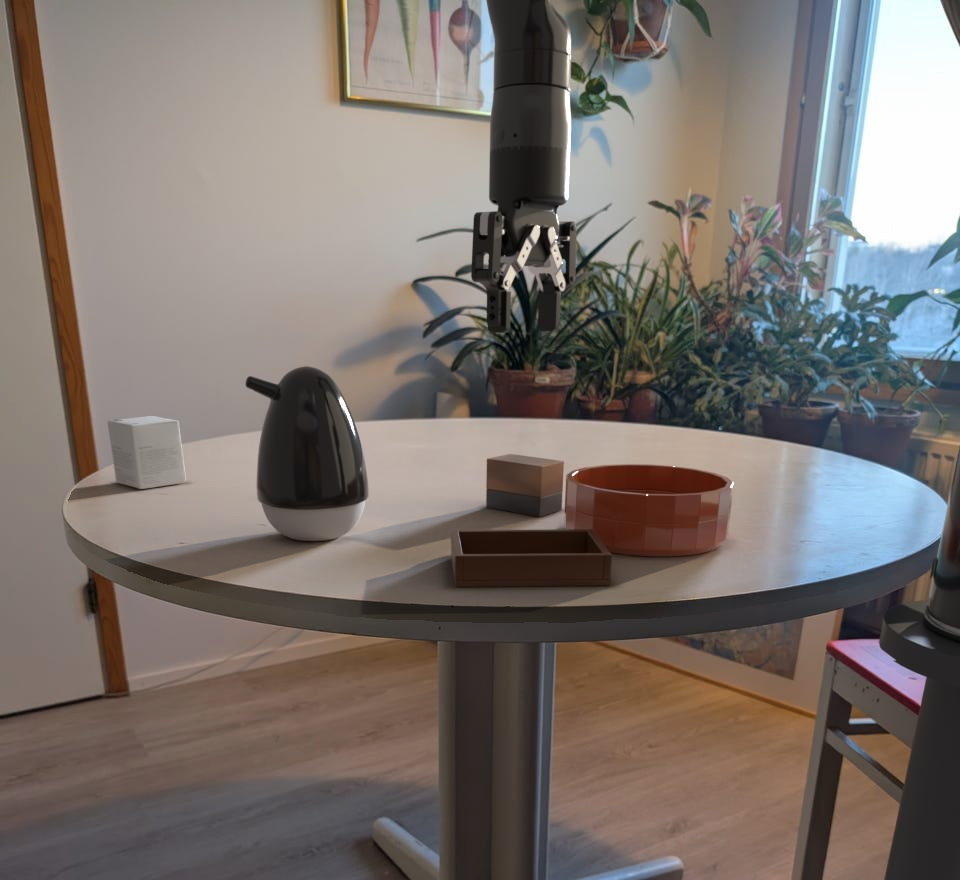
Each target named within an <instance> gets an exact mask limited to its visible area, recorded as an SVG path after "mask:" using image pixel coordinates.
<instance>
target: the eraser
mask: <svg viewBox="0 0 960 880" xmlns="http://www.w3.org/2000/svg"><path fill="white" fill-rule="evenodd" d="M564 468H565V461H564V460H557V459H551V458H543V457H537V456H530V455H529V456H528V455H521V454H514V453H508V454H507V453H506V454H502V455H498V456H493V457H488V458H486V479H485V480H486V482H485V483H486V485H485V486H486V488H485V489H486V490H485V491H486V495H485V496H486V498H485V508H488V509H489V508H490V509H494V510H499V511H506V512H510V513H515V514H516V513H517V514H522V515H527V516H532V517H537V518H538V517H539V518H541V517H543V516H546V515H549V514H553V513H557V512H559V511H562V509H563V490H564V471H565V470H564Z"/></svg>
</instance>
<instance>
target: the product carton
mask: <svg viewBox="0 0 960 880" xmlns="http://www.w3.org/2000/svg"><path fill="white" fill-rule="evenodd" d="M107 427H108V429H107V430H108V435H109V442H110V449H111V455H112V461H113V468H114V476H115V481H116V483H117V484H120V485H124V486H127V487H128V486H129V487H132V488H134V489H138V490H143V489H144V490H145V489H151V488H158V487H165V486H172V485H179V484H183V483H186V482H187V477H186V470H185V461H184V452H183V445H182V438H181V430H180V422H179V420H176V419H170V418H164V417H160V416H155V415H147V416H138V417H129V418H118V419H110V420H107Z"/></svg>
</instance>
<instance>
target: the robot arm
mask: <svg viewBox="0 0 960 880" xmlns="http://www.w3.org/2000/svg"><path fill="white" fill-rule="evenodd" d="M485 1H486V7H487V12H488V16H489V20H490V26H491V30H492V35H493V39H494V47H493V48H494V49H493V86H492V87H493V90H492V91H493V94H492V104H491V112H490V118H489V120H490V122H489V172H488V175H489V176H488V199H489V201H490V203H491V204H492V205H494V206H497V210H496V211H477V212H475V213H474V215H473V224H472V226H473V227H472V245H471V247H472V249H471V267H470V268H471V269H470V270H471V271H470V277H471V281H472V282H474V283H479V284H480V285H482V287H483V289H484V290H485V291H486V325H487V330H488V332H489V333H494V334H495V333H496V334H497V333H499V334H505V333H509V332H510V330H511V313H512V311H511V309H512V308H511V306H512V291H509V290H510V288H511V286H512V285H513V282H514V280H515V278H516V276H517V274H518V273H519V272H521V271H522V270H523V269H524V267H527V268H528V271H529V272H530V273H531V274H533V275H534V276H535V279H536V282H537V285H538V287H539V289H540V291H541V292H538V305H537V306H538V307H537V308H538V310H537V329H538V330H539V331H540V332H557V331H558V330H559V329H560V322H561V305H562V303H561V302H562V292H564V291H565V290H566V288H567V287H568V286H574V285H575V283H576V278H577V277H576V273H577V265H576V264H577V223H576V222H575V221H574V220H573V221H568V220H567V221H566V220H565V221H559V219H558V213H557V212H558V211H557V210H558V208H559V207H560V206H564V205H565V204H566V203H567V201H568V200H569V185H570V163H571V138H572V137H571V135H572V112H571V111H572V110H571V76H572V75H571V74H572V51H573V50H572V49H573V47H572V45H573V43H572V31H571V27H570V24H569V23H568V22H567V20H566V19H565V18H564V17H563V16H562V15H561V14H560V12H558V11H557V9H556V8H555V7H554V6H553V3H552V1H551V0H485ZM939 1H940V4H941V7H942V9H943V12H944V14H945V17H946V19H947V22H948V24H949V27H950V30H951V31H952V33H953V36H954V37H955V40H956V43H957V44H958V46H959V47H960V0H939ZM486 255H488V259H487V261H488V263H487V264H488V265H487V267H484V265H485V264H484V263H485V262H484V261H485V256H486ZM564 261H565V272H563V270H562V266H563V265H564ZM501 273H502V274H501ZM548 274H549V276H548ZM958 446H959V447H958V451H957V457H956V461H955V467H954V471H953V476H952V480H951V485H950V492H949V496H948V500H947V507H946V511H945V515H944V521H943V525H942V531H941V536H940V541H939V545H938V549H937V550H938V551H937V554H936V556H935V557H934V558H933V561H932V567H931V571H930V576H929V579H932V580H931V585H930V589H929V592H928V597H927V600H928V601H927V602H928V604H927V606H926V607H925V612H924V617H923V623H924V625H925V626H926V627H927V628H928V629H929V630H931V631H932V632H934V633H936V634H938V635H940V636H942V637H944V638H946V639H949V640H952V641H955V642H958V643H960V445H958Z"/></svg>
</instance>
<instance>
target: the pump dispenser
mask: <svg viewBox="0 0 960 880" xmlns="http://www.w3.org/2000/svg"><path fill="white" fill-rule="evenodd" d="M244 383H245V385H244V386H245V387H246V388H247V389H248V390H252V391H253V392H255V393H257V394H259V395H261V396H263V397H265V398H268V399H269V400H270V402H269V404H268V408H267V410H266V413H265V417H264V421H263V424H262V429H261V433H260V439H259V444H258V452H257V463H256V482H255V483H256V485H255V486H256V499H257V501H258V502H259V503H260V504H261V507H262V511H263V513H264V515H265V517H266V519H267V521H268V523H269V524H270V525H271V526H272V527H273V528H274V529H275V530H276V531H277V532H278V533H280V534H281V535H283V536H285V537H286V538H290V539H292V540H295V541H300V542H323V541H331V540H335V539H338V538H341V537H343V536H345V535H346V534H348V533H350V532H351V531H352V530H353V529H354V528H355V527H356V526H357V525H358V523H359V521H360V520H361V517H362V516H363V513H364V510H365V505H366V501H367V499H368V498H369V497H370V496H369V495H370V488H369V487H370V486H369V478H368V471H367V464H366V459H365V454H364V449H363V447H362V446H363V445H362V441H361V437H360V435H359V431H358V427H357V426H356V423H355V421H354V418H353V415H352V413H351V410H350V407H349V405H348V403H347V401H346V399H345V396H344V395H343V392H342V391H341V388H339V386H338V385H337V383H336V382H335V380H334V379H333V378H332V377H331V376H330V375H329V374H328V373H327V372H325V371H324V370H322V369H320V368H317V367H314V366H307V365H303V366H299V367H296V368H293V369H291V370H289V371H288V372H286V373H285V374H284V375H283V376H282V377H281V379H280V381H279V382H278V383H274V382H271V381H267V380H264V379H261V378H258V377H255V376H253V375H249V376H247V377H246V380H245V382H244Z"/></svg>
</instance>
